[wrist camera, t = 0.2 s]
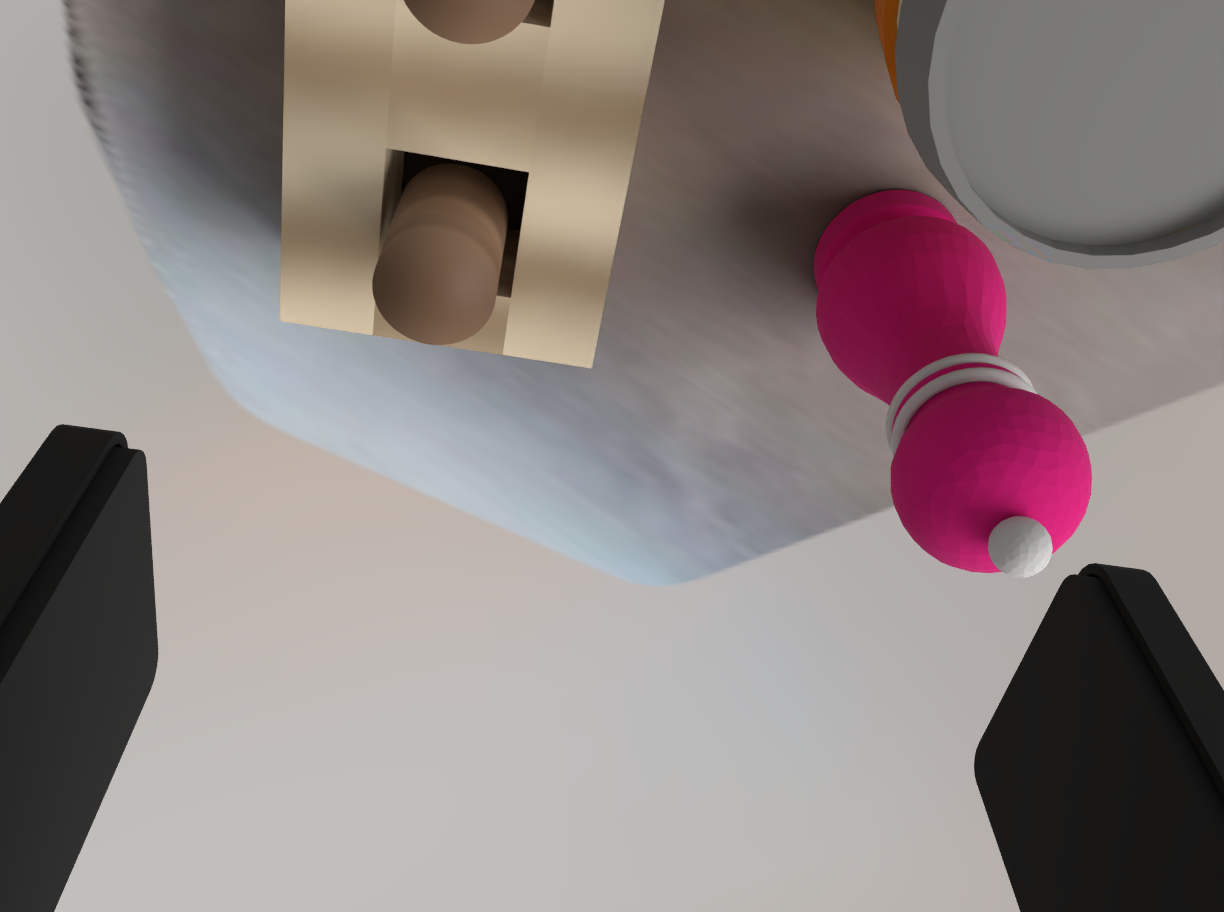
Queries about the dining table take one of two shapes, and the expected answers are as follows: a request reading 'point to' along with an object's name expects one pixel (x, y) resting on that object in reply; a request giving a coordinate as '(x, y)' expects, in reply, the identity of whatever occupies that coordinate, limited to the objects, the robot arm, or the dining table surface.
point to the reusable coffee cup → (1069, 120)
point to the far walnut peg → (442, 255)
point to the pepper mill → (948, 386)
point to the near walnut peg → (470, 18)
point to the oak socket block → (462, 156)
